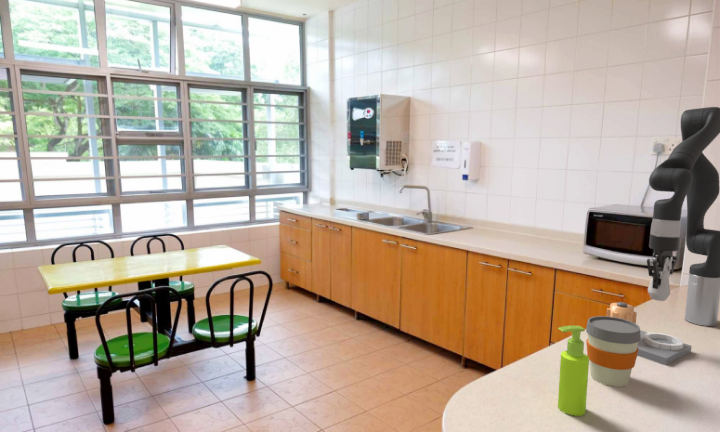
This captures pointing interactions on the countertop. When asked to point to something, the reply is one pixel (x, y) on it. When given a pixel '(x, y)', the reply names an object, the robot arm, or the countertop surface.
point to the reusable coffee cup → (612, 349)
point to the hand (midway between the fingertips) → (659, 289)
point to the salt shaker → (661, 287)
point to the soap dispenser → (573, 374)
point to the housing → (651, 338)
